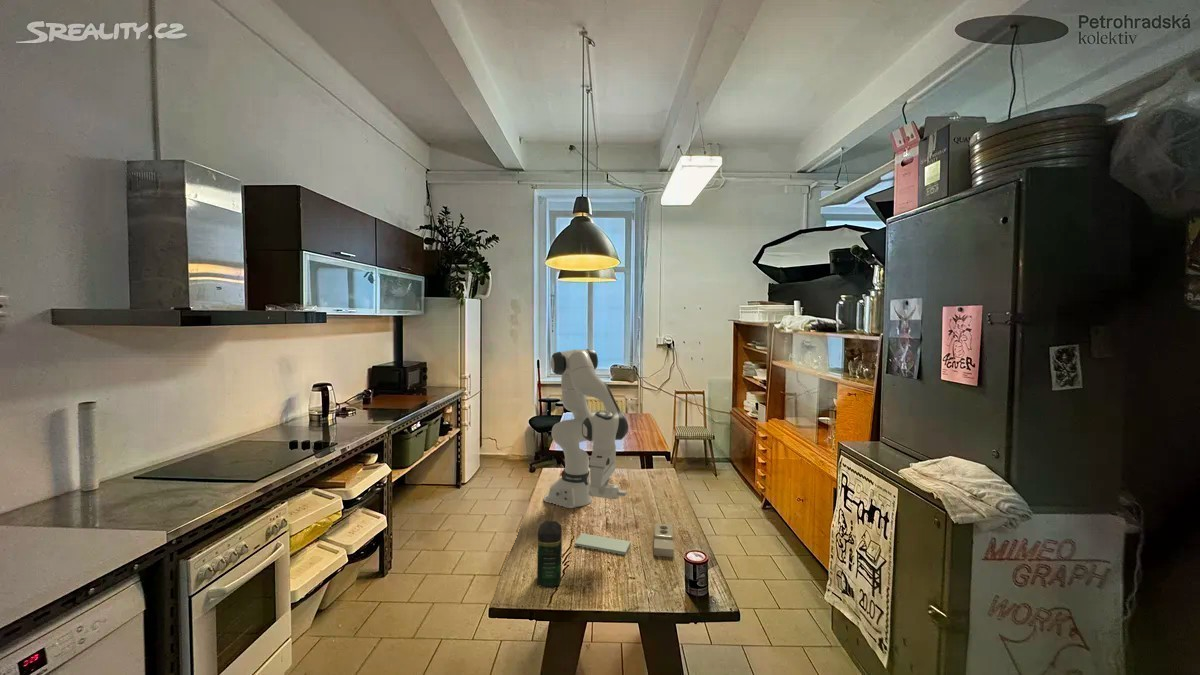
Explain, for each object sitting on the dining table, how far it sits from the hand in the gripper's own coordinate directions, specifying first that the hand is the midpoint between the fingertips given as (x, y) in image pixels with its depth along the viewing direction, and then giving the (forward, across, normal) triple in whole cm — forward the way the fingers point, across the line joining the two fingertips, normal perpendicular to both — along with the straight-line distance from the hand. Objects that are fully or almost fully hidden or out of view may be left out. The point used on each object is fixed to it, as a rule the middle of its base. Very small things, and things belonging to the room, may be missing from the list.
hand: (603, 491), depth 169 cm
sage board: (+21, 0, 0) cm, 21 cm away
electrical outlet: (+22, -9, +22) cm, 32 cm away
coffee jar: (+21, +27, -10) cm, 36 cm away
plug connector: (+2, 0, +1) cm, 2 cm away
